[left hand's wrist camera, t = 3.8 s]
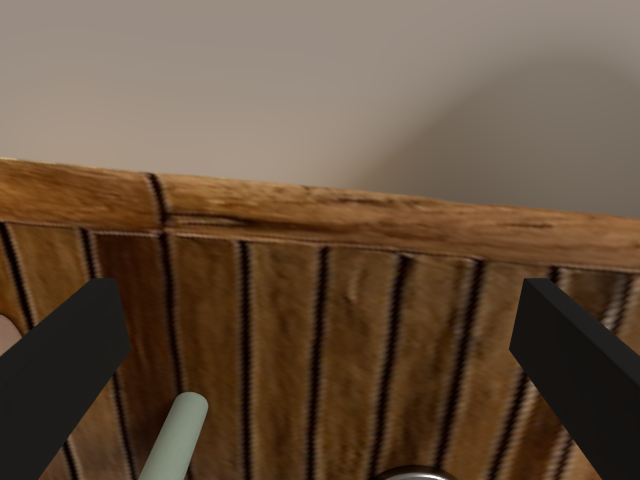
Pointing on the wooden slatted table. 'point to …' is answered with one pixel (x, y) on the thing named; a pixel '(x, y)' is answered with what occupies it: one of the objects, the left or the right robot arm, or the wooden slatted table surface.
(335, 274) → the wooden slatted table surface
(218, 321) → the wooden slatted table surface
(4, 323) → the anatomical model
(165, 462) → the bottle
